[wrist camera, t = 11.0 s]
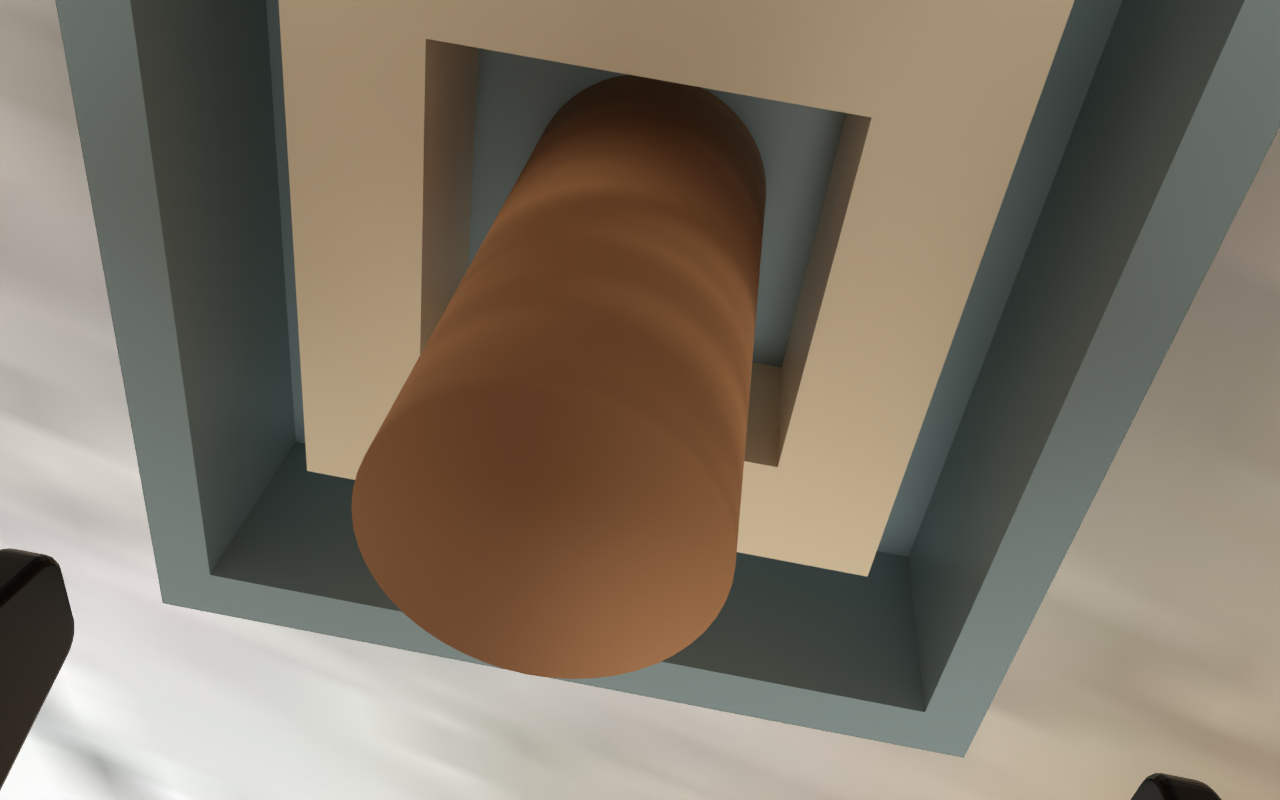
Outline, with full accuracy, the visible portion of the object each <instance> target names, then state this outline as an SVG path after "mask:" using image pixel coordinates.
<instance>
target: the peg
mask: <svg viewBox="0 0 1280 800" xmlns="http://www.w3.org/2000/svg"><path fill="white" fill-rule="evenodd" d="M765 202H766V179H765V171H764V166H763V162H762V159H761V155H760V152H759V150H758V148H757V145H756V143H755V141H754V139H753V137H752V135H751V134H750V132H749V130H748V129H747V127H746V126H745V124H744V123H743V122H742V121H741V119H740V118H739V117H738V116H737V114H736V113H735V112H734V111H733V110H731V109H730V108H729V107H728V106H727V105H726V104H725V103H724V102H723V101H721V100H720V99H719V98H717V97H716V96H714V95H713V94H712V93H710V92H708V91H706V90H704V89H703V88H701V87H696V86H691V85H685V84H679V83H674V82H668V81H662V80H657V79H651V78H645V77H640V76H634V75H623V76H617V77H613V78H610V79H607V80H603V81H601V82H598V83H596V84H594V85H592V86H589V87H588V88H586V89H584V90H583V91H581V92H580V93H578V94H576V95H575V96H574V97H572V98H571V99H570V100H569V101H568V102H567V103H565V104H564V105H563V106H562V107H561V109H560V110H559V111H558V112H557V113H556V114H555V115H554V117H553V118H552V120H551V121H550V123H549V124H548V126H547V127H546V129H545V131H544V132H543V134H542V136H541V138H540V140H539V141H538V143H537V145H536V147H535V149H534V150H533V152H532V154H531V156H530V158H529V159H528V161H527V163H526V165H525V167H524V169H523V170H522V172H521V174H520V176H519V178H518V179H517V181H516V183H515V185H514V187H513V188H512V190H511V192H510V194H509V196H508V197H507V199H506V201H505V203H504V205H503V206H502V208H501V210H500V212H499V214H498V215H497V217H496V219H495V221H494V223H493V225H492V226H491V228H490V230H489V232H488V234H487V235H486V237H485V239H484V241H483V243H482V244H481V246H480V248H479V250H478V252H477V253H476V255H475V257H474V259H473V261H472V262H471V264H470V266H469V268H468V270H467V272H466V273H465V275H464V277H463V279H462V281H461V282H460V284H459V286H458V288H457V290H456V291H455V293H454V295H453V297H452V299H451V300H450V302H449V304H448V306H447V308H446V309H445V311H444V313H443V315H442V317H441V319H440V320H439V322H438V324H437V326H436V328H435V329H434V331H433V333H432V335H431V337H430V338H429V340H428V342H427V344H426V346H425V347H424V349H423V351H422V353H421V355H420V356H419V358H418V360H417V362H416V364H415V366H414V367H413V369H412V371H411V373H410V375H409V376H408V378H407V380H406V382H405V384H404V385H403V387H402V389H401V391H400V393H399V394H398V396H397V398H396V400H395V402H394V403H393V405H392V407H391V409H390V411H389V413H388V414H387V416H386V418H385V420H384V422H383V423H382V425H381V427H380V429H379V431H378V432H377V434H376V436H375V438H374V440H373V441H372V443H371V445H370V447H369V449H368V450H367V452H366V454H365V456H364V458H363V461H362V463H361V465H360V467H359V469H358V472H357V475H356V479H355V483H354V487H353V493H352V508H351V510H352V520H353V529H354V532H355V536H356V540H357V543H358V547H359V549H360V552H361V554H362V556H363V558H364V561H365V563H366V565H367V567H368V569H369V570H370V572H371V574H372V575H373V577H374V579H375V580H376V582H377V583H378V585H379V586H380V587H381V588H382V590H383V591H384V592H385V594H386V595H387V596H388V597H389V599H390V600H391V601H392V602H393V603H394V604H395V605H396V606H397V607H398V608H399V609H400V610H401V611H402V612H403V613H404V614H405V615H406V616H407V617H409V618H410V619H411V620H412V621H413V622H415V623H416V624H417V625H418V626H420V627H421V628H422V629H423V630H425V631H426V632H428V633H429V634H431V635H432V636H434V637H435V638H437V639H438V640H440V641H441V642H443V643H445V644H447V645H449V646H451V647H452V648H454V649H456V650H458V651H460V652H462V653H464V654H466V655H469V656H471V657H473V658H475V659H478V660H480V661H482V662H485V663H488V664H491V665H494V666H497V667H500V668H503V669H507V670H511V671H516V672H520V673H524V674H529V675H536V676H542V677H549V678H565V679H586V678H600V677H608V676H616V675H620V674H624V673H629V672H633V671H637V670H640V669H643V668H646V667H648V666H651V665H654V664H657V663H659V662H661V661H663V660H665V659H667V658H669V657H671V656H673V655H675V654H676V653H678V652H679V651H681V650H682V649H684V648H685V647H687V646H688V645H690V644H691V643H692V642H694V641H695V640H696V639H697V638H698V637H699V636H700V635H701V634H702V633H704V632H705V631H706V629H707V628H708V627H709V626H710V625H711V623H712V622H713V621H714V620H715V618H716V617H717V616H718V614H719V612H720V610H721V609H722V607H723V605H724V604H725V602H726V600H727V597H728V594H729V591H730V589H731V586H732V583H733V577H734V571H735V565H736V554H737V542H738V530H739V517H740V505H741V493H742V481H743V469H744V457H745V445H746V433H747V420H748V408H749V396H750V384H751V372H752V360H753V348H754V336H755V323H756V311H757V299H758V287H759V275H760V263H761V251H762V239H763V226H764V214H765Z"/></svg>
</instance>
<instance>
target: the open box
mask: <svg viewBox="0 0 1280 800" xmlns="http://www.w3.org/2000/svg"><path fill="white" fill-rule="evenodd" d="M56 6H57V12H58V17H59V23H60V28H61V34H62V40H63V45H64V51H65V56H66V62H67V68H68V73H69V79H70V85H71V90H72V96H73V101H74V107H75V113H76V118H77V124H78V129H79V135H80V141H81V146H82V152H83V157H84V163H85V169H86V174H87V180H88V186H89V191H90V197H91V202H92V208H93V214H94V219H95V225H96V230H97V236H98V242H99V247H100V253H101V258H102V264H103V270H104V275H105V281H106V287H107V292H108V298H109V303H110V309H111V315H112V320H113V326H114V331H115V337H116V343H117V348H118V354H119V359H120V365H121V371H122V376H123V382H124V388H125V393H126V399H127V404H128V410H129V416H130V421H131V427H132V432H133V438H134V444H135V449H136V455H137V460H138V466H139V472H140V477H141V483H142V489H143V494H144V500H145V505H146V511H147V517H148V522H149V528H150V533H151V539H152V545H153V550H154V556H155V562H156V567H157V573H158V578H159V584H160V590H161V595H162V601H163V603H165V604H170V605H175V606H181V607H186V608H191V609H196V610H201V611H206V612H212V613H217V614H222V615H227V616H232V617H238V618H243V619H248V620H253V621H258V622H263V623H269V624H274V625H279V626H284V627H289V628H295V629H300V630H305V631H310V632H315V633H320V634H326V635H331V636H336V637H341V638H346V639H352V640H357V641H362V642H367V643H372V644H377V645H383V646H388V647H393V648H398V649H403V650H409V651H414V652H419V653H424V654H429V655H435V656H440V657H445V658H450V659H455V660H460V661H466V662H471V663H476V664H481V665H486V666H492V667H497V666H494V665H491V664H488V663H485V662H482V661H480V660H478V659H475V658H473V657H471V656H469V655H466V654H464V653H462V652H460V651H458V650H456V649H454V648H452V647H451V646H449V645H447V644H445V643H443V642H441V641H440V640H438V639H437V638H435V637H434V636H432V635H431V634H429V633H428V632H426V631H425V630H423V629H422V628H421V627H420V626H418V625H417V624H416V623H415V622H413V621H412V620H411V619H410V618H409V617H407V616H406V615H405V614H404V613H403V612H402V611H401V610H400V609H399V608H398V607H397V606H396V605H395V604H394V603H393V602H392V601H391V600H390V599H389V597H388V596H387V595H386V594H385V592H384V591H383V590H382V588H381V587H380V586H379V585H378V583H377V582H376V580H375V579H374V577H373V575H372V574H371V572H370V570H369V569H368V567H367V565H366V563H365V561H364V558H363V556H362V554H361V552H360V549H359V547H358V543H357V540H356V536H355V532H354V529H353V520H352V510H351V508H352V493H353V487H354V483H355V479H356V475H357V472H358V469H359V467H360V465H361V463H362V461H363V458H364V456H365V454H366V452H367V450H368V449H369V447H370V445H371V443H372V441H373V440H374V438H375V436H376V434H377V432H378V431H379V429H380V427H381V425H382V423H383V422H384V420H385V418H386V416H387V414H388V413H389V411H390V409H391V407H392V405H393V403H394V402H395V400H396V398H397V396H398V394H399V393H400V391H401V389H402V387H403V385H404V384H405V382H406V380H407V378H408V376H409V375H410V373H411V371H412V369H413V367H414V366H415V364H416V362H417V360H418V358H419V356H420V355H421V353H422V351H423V349H424V347H425V346H426V344H427V342H428V340H429V338H430V337H431V335H432V333H433V331H434V329H435V328H436V326H437V324H438V322H439V320H440V319H441V317H442V315H443V313H444V311H445V309H446V308H447V306H448V304H449V302H450V300H451V299H452V297H453V295H454V293H455V291H456V290H457V288H458V286H459V284H460V282H461V281H462V279H463V277H464V275H465V273H466V272H467V270H468V268H469V266H470V264H471V262H472V261H473V259H474V257H475V255H476V253H477V252H478V250H479V248H480V246H481V244H482V243H483V241H484V239H485V237H486V235H487V234H488V232H489V230H490V228H491V226H492V225H493V223H494V221H495V219H496V217H497V215H498V214H499V212H500V210H501V208H502V206H503V205H504V203H505V201H506V199H507V197H508V196H509V194H510V192H511V190H512V188H513V187H514V185H515V183H516V181H517V179H518V178H519V176H520V174H521V172H522V170H523V169H524V167H525V165H526V163H527V161H528V159H529V158H530V156H531V154H532V152H533V150H534V149H535V147H536V145H537V143H538V141H539V140H540V138H541V136H542V134H543V132H544V131H545V129H546V127H547V126H548V124H549V123H550V121H551V120H552V118H553V117H554V115H555V114H556V113H557V112H558V111H559V110H560V109H561V107H562V106H563V105H564V104H565V103H567V102H568V101H569V100H570V99H571V98H572V97H574V96H575V95H576V94H578V93H580V92H581V91H583V90H584V89H586V88H588V87H589V86H592V85H594V84H596V83H598V82H601V81H603V80H607V79H610V78H613V77H617V76H623V75H634V76H640V77H645V78H651V79H657V80H662V81H668V82H674V83H679V84H685V85H691V86H696V87H701V88H703V89H704V90H706V91H708V92H710V93H712V94H713V95H714V96H716V97H717V98H719V99H720V100H721V101H723V102H724V103H725V104H726V105H727V106H728V107H729V108H730V109H731V110H733V111H734V112H735V113H736V114H737V116H738V117H739V118H740V119H741V121H742V122H743V123H744V124H745V126H746V127H747V129H748V130H749V132H750V134H751V135H752V137H753V139H754V141H755V143H756V145H757V148H758V150H759V152H760V155H761V159H762V162H763V166H764V171H765V179H766V202H765V214H764V226H763V239H762V251H761V263H760V275H759V287H758V299H757V311H756V323H755V336H754V348H753V360H752V372H751V384H750V396H749V408H748V420H747V433H746V445H745V457H744V469H743V481H742V493H741V505H740V517H739V530H738V542H737V554H736V565H735V571H734V577H733V583H732V586H731V589H730V591H729V594H728V597H727V600H726V602H725V604H724V605H723V607H722V609H721V610H720V612H719V614H718V616H717V617H716V618H715V620H714V621H713V622H712V623H711V625H710V626H709V627H708V628H707V629H706V631H705V632H704V633H702V634H701V635H700V636H699V637H698V638H697V639H696V640H695V641H694V642H692V643H691V644H690V645H688V646H687V647H685V648H684V649H682V650H681V651H679V652H678V653H676V654H675V655H673V656H671V657H669V658H667V659H665V660H663V661H661V662H659V663H657V664H654V665H651V666H648V667H646V668H643V669H640V670H637V671H633V672H629V673H624V674H620V675H616V676H608V677H600V678H586V679H565V678H554V679H559V680H564V681H569V682H574V683H580V684H585V685H590V686H595V687H600V688H606V689H611V690H616V691H621V692H626V693H631V694H637V695H642V696H647V697H652V698H657V699H663V700H668V701H673V702H678V703H683V704H688V705H694V706H699V707H704V708H709V709H714V710H720V711H725V712H730V713H735V714H740V715H746V716H751V717H756V718H761V719H766V720H771V721H777V722H782V723H787V724H792V725H797V726H803V727H808V728H813V729H818V730H823V731H828V732H834V733H839V734H844V735H849V736H854V737H860V738H865V739H870V740H875V741H880V742H885V743H891V744H896V745H901V746H906V747H911V748H917V749H922V750H927V751H932V752H937V753H942V754H948V755H953V756H958V757H963V758H964V756H965V754H966V752H967V750H968V748H969V746H970V744H971V742H972V740H973V738H974V736H975V734H976V732H977V730H978V728H979V726H980V724H981V722H982V720H983V718H984V716H985V714H986V712H987V710H988V708H989V706H990V704H991V702H992V700H993V698H994V696H995V694H996V692H997V690H998V688H999V686H1000V684H1001V682H1002V680H1003V678H1004V676H1005V674H1006V672H1007V670H1008V668H1009V666H1010V664H1011V662H1012V660H1013V658H1014V656H1015V654H1016V652H1017V650H1018V648H1019V646H1020V644H1021V642H1022V640H1023V638H1024V636H1025V634H1026V632H1027V630H1028V628H1029V626H1030V624H1031V622H1032V620H1033V618H1034V616H1035V614H1036V612H1037V610H1038V608H1039V606H1040V604H1041V602H1042V600H1043V598H1044V596H1045V594H1046V592H1047V591H1048V589H1049V587H1050V585H1051V583H1052V581H1053V579H1054V577H1055V575H1056V573H1057V571H1058V569H1059V567H1060V565H1061V563H1062V561H1063V559H1064V557H1065V555H1066V553H1067V551H1068V549H1069V547H1070V545H1071V543H1072V541H1073V539H1074V537H1075V535H1076V533H1077V531H1078V529H1079V527H1080V525H1081V523H1082V521H1083V519H1084V517H1085V515H1086V513H1087V511H1088V509H1089V507H1090V505H1091V503H1092V501H1093V499H1094V497H1095V495H1096V493H1097V491H1098V489H1099V487H1100V485H1101V483H1102V481H1103V479H1104V477H1105V475H1106V473H1107V471H1108V469H1109V467H1110V465H1111V463H1112V461H1113V459H1114V457H1115V455H1116V453H1117V451H1118V449H1119V447H1120V445H1121V443H1122V441H1123V439H1124V437H1125V435H1126V433H1127V431H1128V429H1129V427H1130V425H1131V423H1132V421H1133V419H1134V417H1135V415H1136V413H1137V411H1138V409H1139V407H1140V405H1141V403H1142V401H1143V399H1144V397H1145V395H1146V393H1147V391H1148V389H1149V387H1150V385H1151V383H1152V381H1153V379H1154V377H1155V375H1156V373H1157V371H1158V369H1159V367H1160V365H1161V363H1162V361H1163V359H1164V357H1165V355H1166V353H1167V351H1168V349H1169V347H1170V345H1171V343H1172V341H1173V339H1174V337H1175V335H1176V333H1177V331H1178V329H1179V327H1180V325H1181V323H1182V321H1183V319H1184V317H1185V315H1186V313H1187V311H1188V309H1189V307H1190V305H1191V303H1192V301H1193V299H1194V297H1195V295H1196V293H1197V291H1198V289H1199V287H1200V285H1201V283H1202V281H1203V279H1204V277H1205V275H1206V273H1207V271H1208V269H1209V267H1210V265H1211V263H1212V261H1213V259H1214V257H1215V255H1216V253H1217V251H1218V249H1219V247H1220V245H1221V243H1222V241H1223V239H1224V237H1225V235H1226V233H1227V231H1228V229H1229V227H1230V225H1231V223H1232V221H1233V219H1234V217H1235V215H1236V213H1237V211H1238V209H1239V207H1240V205H1241V203H1242V201H1243V199H1244V197H1245V195H1246V193H1247V191H1248V189H1249V187H1250V185H1251V183H1252V181H1253V179H1254V177H1255V175H1256V173H1257V171H1258V169H1259V167H1260V165H1261V163H1262V161H1263V159H1264V157H1265V155H1266V153H1267V151H1268V149H1269V147H1270V145H1271V143H1272V141H1273V139H1274V137H1275V135H1276V133H1277V131H1278V129H1279V127H1280V0H56ZM497 668H500V667H497ZM502 669H503V668H502Z"/></svg>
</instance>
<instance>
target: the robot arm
mask: <svg viewBox="0 0 1280 800" xmlns="http://www.w3.org/2000/svg"><path fill="white" fill-rule="evenodd" d="M73 636H74V620H73V616H72V612H71V608H70V604H69V600H68V596H67V592H66V588H65V584H64V580H63V577H62V573H61V569H60V566H59V564H58V563H57V562H56V561H55V560H54V559H53V558H52V557H50V556H47V555H43V554H38V553H33V552H28V551H23V550H18V549H2V550H0V790H1V788H2V786H3V784H4V782H5V780H6V778H7V776H8V774H9V772H10V770H11V768H12V766H13V764H14V762H15V760H16V758H17V756H18V754H19V752H20V749H21V747H22V745H23V743H24V741H25V739H26V737H27V735H28V733H29V731H30V729H31V727H32V725H33V723H34V721H35V719H36V717H37V715H38V713H39V711H40V709H41V707H42V705H43V703H44V701H45V699H46V697H47V695H48V693H49V691H50V689H51V687H52V685H53V683H54V681H55V679H56V677H57V675H58V673H59V671H60V669H61V667H62V665H63V663H64V661H65V659H66V657H67V655H68V653H69V650H70V648H71V644H72V641H73ZM1131 800H1221V798H1220V797H1219V796H1218V795H1217V794H1216V793H1215V792H1214V790H1212V789H1211V788H1210V787H1209V786H1208V785H1206V784H1204V783H1203V782H1200V781H1197V780H1193V779H1188V778H1183V777H1178V776H1173V775H1168V774H1163V773H1155V774H1153V775H1151V776H1148V777H1147V778H1146V779H1145V780H1144V781H1143V782H1142V784H1141V785H1140V787H1139V788H1138V790H1137V791H1136V793H1135V794H1134V796H1133V797H1132V799H1131Z"/></svg>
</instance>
